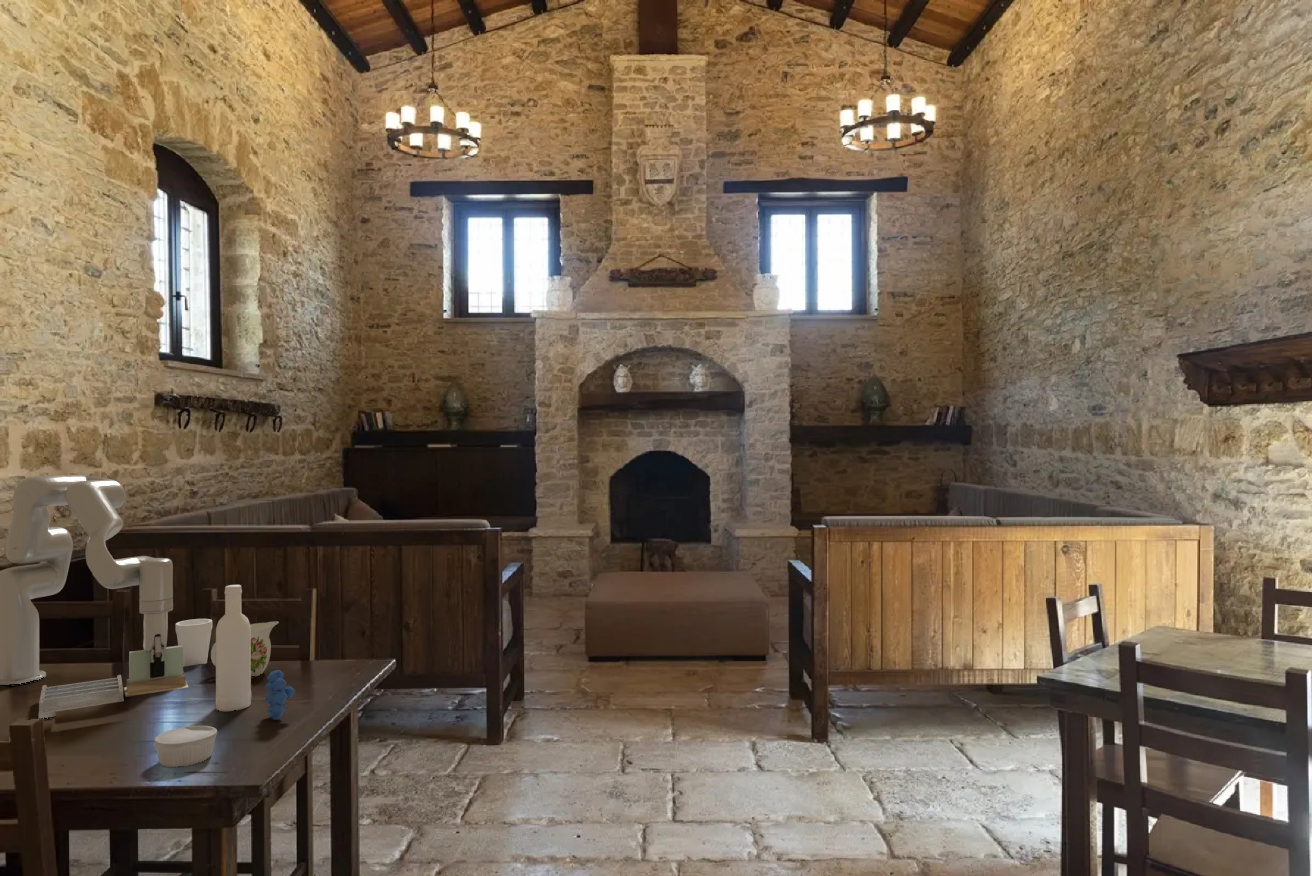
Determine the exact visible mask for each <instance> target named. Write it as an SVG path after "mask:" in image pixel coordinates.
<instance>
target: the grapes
mask: <svg viewBox="0 0 1312 876" xmlns="http://www.w3.org/2000/svg"><path fill="white" fill-rule="evenodd" d="M284 677H285V674H284V672H282V671H281V670H280V669H277V670H272V671H270V673H269V674H268V675H267V677H266V679H267V680H268V682H267V683H266V684H265V686H264V688H265V689H266V690H267V691H268V692H266V694H265V696H264V697H265V698H264V701H265V702H266V703H267V704H269V706H268V708H267V709H266V710H265V711H266V712H267V713H268V716H269V717H270V718H271V719H272V720H274V721H278V720H280V718H282V717H283V714H284V713H285V711H286V710H287V706H286V705H285V704H286V701H287V700H289V699H292V697H293V696H294V694H295V693H296V690H295V689H294V688H293V687H292V686H290V685H287V684H288V683H287V681H285V679H284Z"/></svg>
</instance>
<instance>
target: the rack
mask: <svg viewBox="0 0 1312 876" xmlns="http://www.w3.org/2000/svg"><path fill="white" fill-rule="evenodd" d="M123 686H124V685H123V681H122V675H121V674H118V675H117V677H111V678H105V679H99V680H98V679H97V680H89V681H82V682H77V683H68V684H60V685H55V686H53V685H52V686H47V684H44V685H42V687H41V692H40V697H39V701H38V719H39V718H43V720H45V719H44V717H45V718H47V719H48V717H53V716H56V717H57V712H62V711H67V710H69V711H70V710H75V709H81V708H87V707H93V706H100V705H101V706H102V705H108V704H114V703H121V702H124V701H125V700H124V687H123ZM47 719H46V720H47ZM48 720H49V719H48Z"/></svg>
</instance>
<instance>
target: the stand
mask: <svg viewBox="0 0 1312 876" xmlns="http://www.w3.org/2000/svg"><path fill="white" fill-rule="evenodd" d="M186 678H187V677H186V674H185V671H183V675H182V676H175V677H168V678H161V679H154V680H147V681H140V682H133V683H129V678H128V679H126V686H125V687H123V691H124V696H125V697H126V698H127V697H133V696H142V695H146V694H147V695H148V694H153V693H160V692H168V691H174V690H181V689H187V688H189V684H188V682H187V679H186Z"/></svg>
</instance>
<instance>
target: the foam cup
mask: <svg viewBox="0 0 1312 876" xmlns="http://www.w3.org/2000/svg"><path fill="white" fill-rule="evenodd" d="M212 629H213V620H212V619H209V618H195V619H194V618H193V619H187V620H182V621H178V622H176V623H175V633H176V638H177V646H180V645H182V646H183V668H184V667H189V666H197V665H204V664H205V665H206V664H207V663H208V657H209V651H210V641H211V636H212V635H211V634H212Z"/></svg>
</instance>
